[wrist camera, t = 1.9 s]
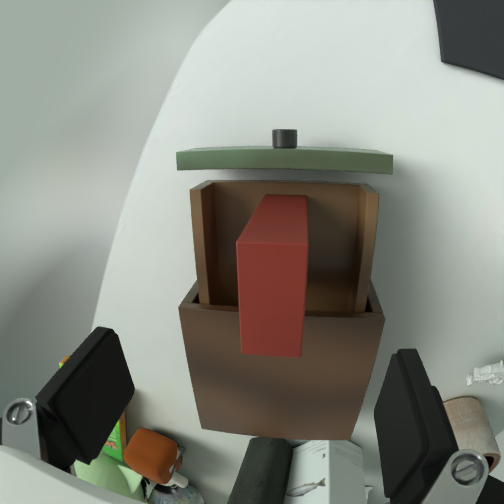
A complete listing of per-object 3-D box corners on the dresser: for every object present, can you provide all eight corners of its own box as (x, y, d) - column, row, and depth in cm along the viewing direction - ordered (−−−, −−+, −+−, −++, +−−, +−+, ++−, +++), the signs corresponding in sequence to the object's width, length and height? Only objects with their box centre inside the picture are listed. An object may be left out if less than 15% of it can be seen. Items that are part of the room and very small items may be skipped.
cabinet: (202, 271, 28) (177, 307, 22) (370, 279, 25) (385, 318, 20) (215, 388, 33) (201, 428, 27) (346, 397, 31) (349, 440, 25)
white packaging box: (329, 428, 33) (330, 520, 21) (362, 447, 34) (369, 527, 23) (285, 449, 36) (277, 531, 24) (321, 466, 37) (319, 540, 25)
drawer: (196, 132, 22) (174, 133, 18) (377, 134, 20) (393, 135, 16) (208, 304, 28) (193, 332, 24) (361, 312, 26) (368, 342, 22)
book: (264, 194, 22) (235, 241, 13) (307, 195, 22) (308, 244, 13) (265, 272, 25) (241, 355, 15) (304, 273, 24) (300, 360, 15)
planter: (453, 442, 32) (467, 493, 24) (394, 444, 33) (401, 502, 25) (494, 393, 28) (518, 446, 19) (432, 393, 29) (452, 457, 20)
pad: (427, -27, 14) (429, -30, 14) (500, -2, 13) (503, -3, 13) (440, 61, 18) (443, 60, 17) (513, 83, 17) (517, 83, 16)
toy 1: (176, 528, 40) (187, 469, 46) (106, 556, 25) (112, 487, 30) (105, 485, 49) (112, 431, 54) (36, 492, 33) (39, 428, 39)
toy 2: (200, 472, 44) (188, 441, 36) (185, 503, 38) (167, 481, 30) (154, 453, 46) (131, 416, 38) (137, 481, 40) (108, 451, 33)
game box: (128, 380, 37) (127, 455, 43) (70, 351, 37) (80, 431, 44) (118, 395, 34) (120, 467, 40) (58, 362, 34) (73, 441, 41)
